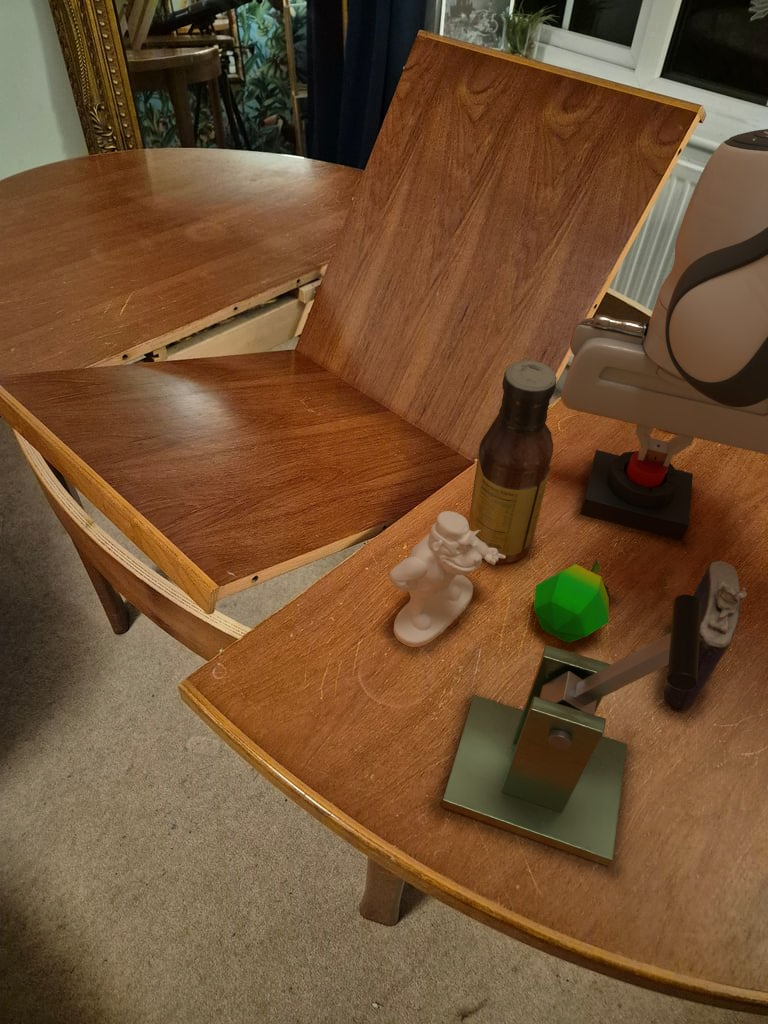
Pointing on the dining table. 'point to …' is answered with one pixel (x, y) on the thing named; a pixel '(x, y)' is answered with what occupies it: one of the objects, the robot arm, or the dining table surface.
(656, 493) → the control block
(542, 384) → the sauce bottle
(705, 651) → the eggplant half
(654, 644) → the lever
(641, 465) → the button
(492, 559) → the figurine
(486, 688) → the dining table surface
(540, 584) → the apple
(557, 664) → the bracket
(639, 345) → the robot arm
